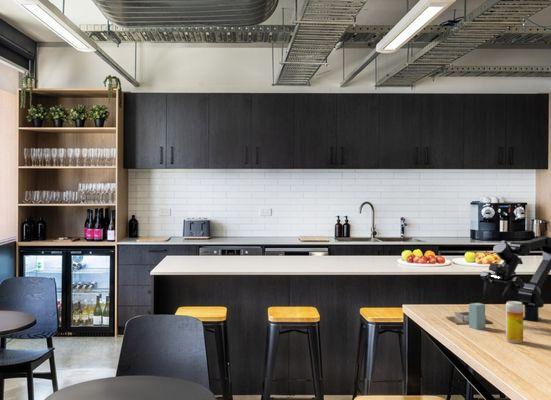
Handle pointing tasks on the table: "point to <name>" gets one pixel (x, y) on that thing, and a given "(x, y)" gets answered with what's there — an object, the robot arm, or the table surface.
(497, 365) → the table surface
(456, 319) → the brown framed base board
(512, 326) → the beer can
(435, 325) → the table surface
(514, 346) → the table surface
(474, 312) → the pale blue box
